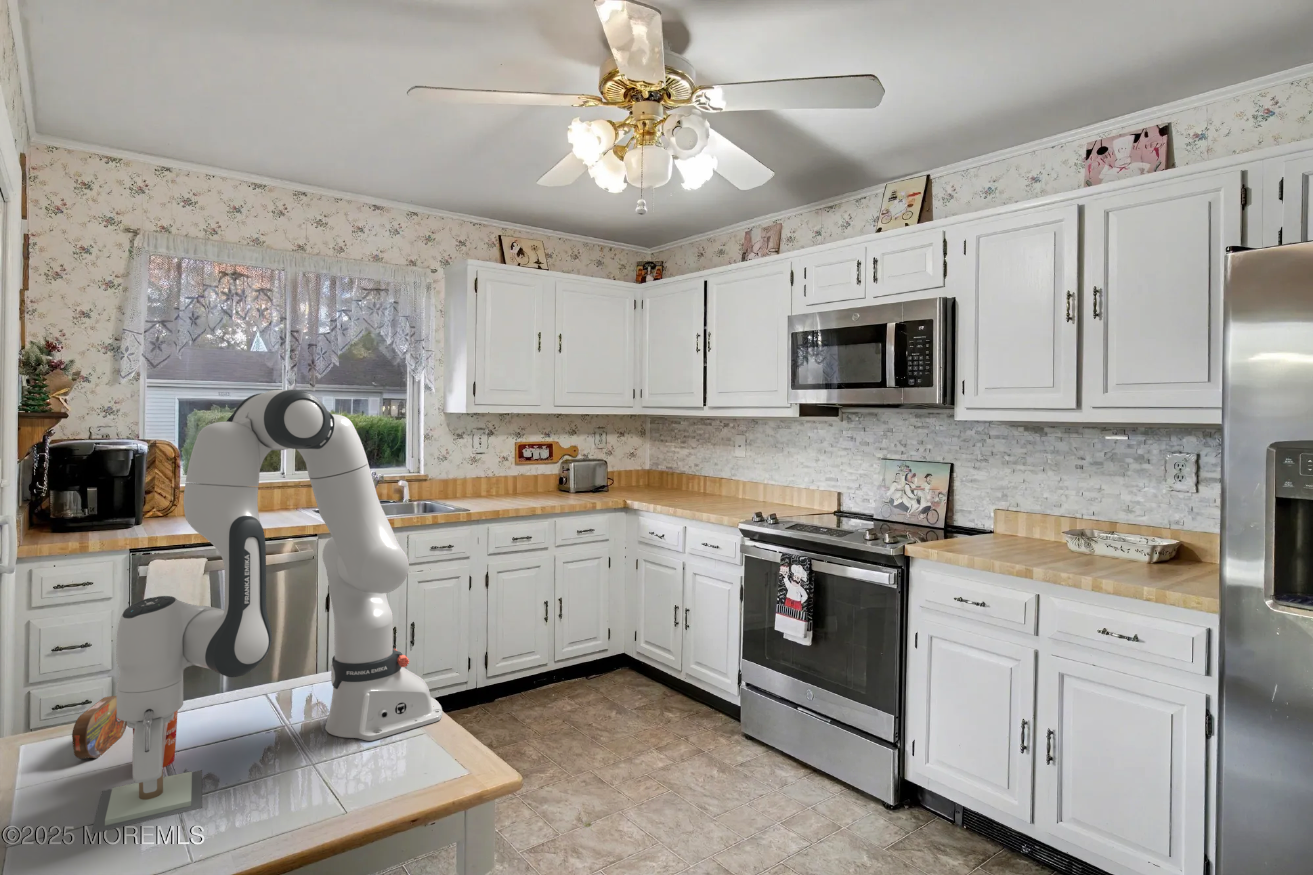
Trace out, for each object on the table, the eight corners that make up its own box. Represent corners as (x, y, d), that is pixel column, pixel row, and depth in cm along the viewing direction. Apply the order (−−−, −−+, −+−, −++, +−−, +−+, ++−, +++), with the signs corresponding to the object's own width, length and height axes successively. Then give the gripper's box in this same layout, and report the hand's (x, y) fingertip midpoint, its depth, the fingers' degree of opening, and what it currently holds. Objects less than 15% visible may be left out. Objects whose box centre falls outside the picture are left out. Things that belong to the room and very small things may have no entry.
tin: (88, 766, 128) (88, 719, 128) (68, 768, 127) (67, 721, 127) (130, 729, 143) (130, 687, 142) (112, 730, 142) (112, 688, 142)
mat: (202, 771, 127) (202, 769, 127) (202, 810, 115) (202, 807, 115) (102, 793, 119) (102, 790, 119) (91, 836, 107) (91, 833, 107)
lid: (191, 775, 125) (191, 750, 124) (191, 805, 115) (190, 778, 115) (112, 792, 119) (112, 766, 119) (104, 825, 109) (104, 797, 109)
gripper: (171, 719, 109) (172, 808, 110) (175, 676, 127) (176, 753, 127) (120, 728, 106) (121, 820, 106) (131, 683, 123) (132, 762, 124)
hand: (151, 783), depth 117 cm, fingers closed on lid, 3 cm apart
